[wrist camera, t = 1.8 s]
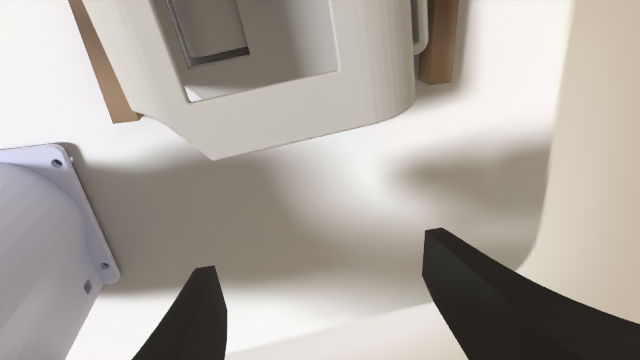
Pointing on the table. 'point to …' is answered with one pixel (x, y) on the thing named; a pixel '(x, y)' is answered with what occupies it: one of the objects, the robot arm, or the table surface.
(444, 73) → the rail channel
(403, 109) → the cable organizer
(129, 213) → the table surface
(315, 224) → the table surface
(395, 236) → the table surface
